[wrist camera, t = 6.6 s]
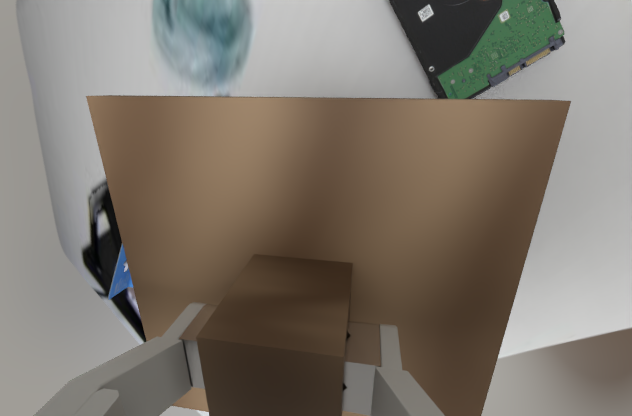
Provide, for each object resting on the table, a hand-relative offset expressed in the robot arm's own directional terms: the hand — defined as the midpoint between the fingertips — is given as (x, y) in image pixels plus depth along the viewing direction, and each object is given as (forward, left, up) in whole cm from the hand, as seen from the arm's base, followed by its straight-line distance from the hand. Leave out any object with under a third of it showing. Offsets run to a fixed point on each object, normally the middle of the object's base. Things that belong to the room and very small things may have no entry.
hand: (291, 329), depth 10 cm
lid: (0, 0, -3) cm, 3 cm away
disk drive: (-9, -14, -27) cm, 31 cm away
